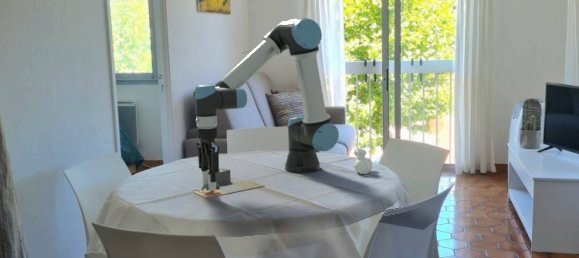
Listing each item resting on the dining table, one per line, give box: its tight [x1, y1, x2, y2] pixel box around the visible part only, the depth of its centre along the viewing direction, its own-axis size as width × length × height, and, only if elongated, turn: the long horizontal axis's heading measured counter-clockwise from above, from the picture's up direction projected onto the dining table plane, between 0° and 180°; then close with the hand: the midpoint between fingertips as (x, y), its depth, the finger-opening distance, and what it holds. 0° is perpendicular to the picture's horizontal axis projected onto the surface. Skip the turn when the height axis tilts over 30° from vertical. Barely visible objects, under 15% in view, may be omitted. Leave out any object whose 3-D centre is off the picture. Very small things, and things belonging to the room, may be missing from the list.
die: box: [216, 168, 232, 185], centre depth 227 cm, size 5×5×5 cm
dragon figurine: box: [196, 182, 221, 193], centre depth 210 cm, size 6×7×8 cm
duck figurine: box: [353, 147, 373, 175], centre depth 238 cm, size 12×8×11 cm
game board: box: [193, 180, 266, 199], centre depth 216 cm, size 26×10×1 cm, turn 126°
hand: (209, 189), depth 211 cm, fingers closed on dragon figurine, 4 cm apart
